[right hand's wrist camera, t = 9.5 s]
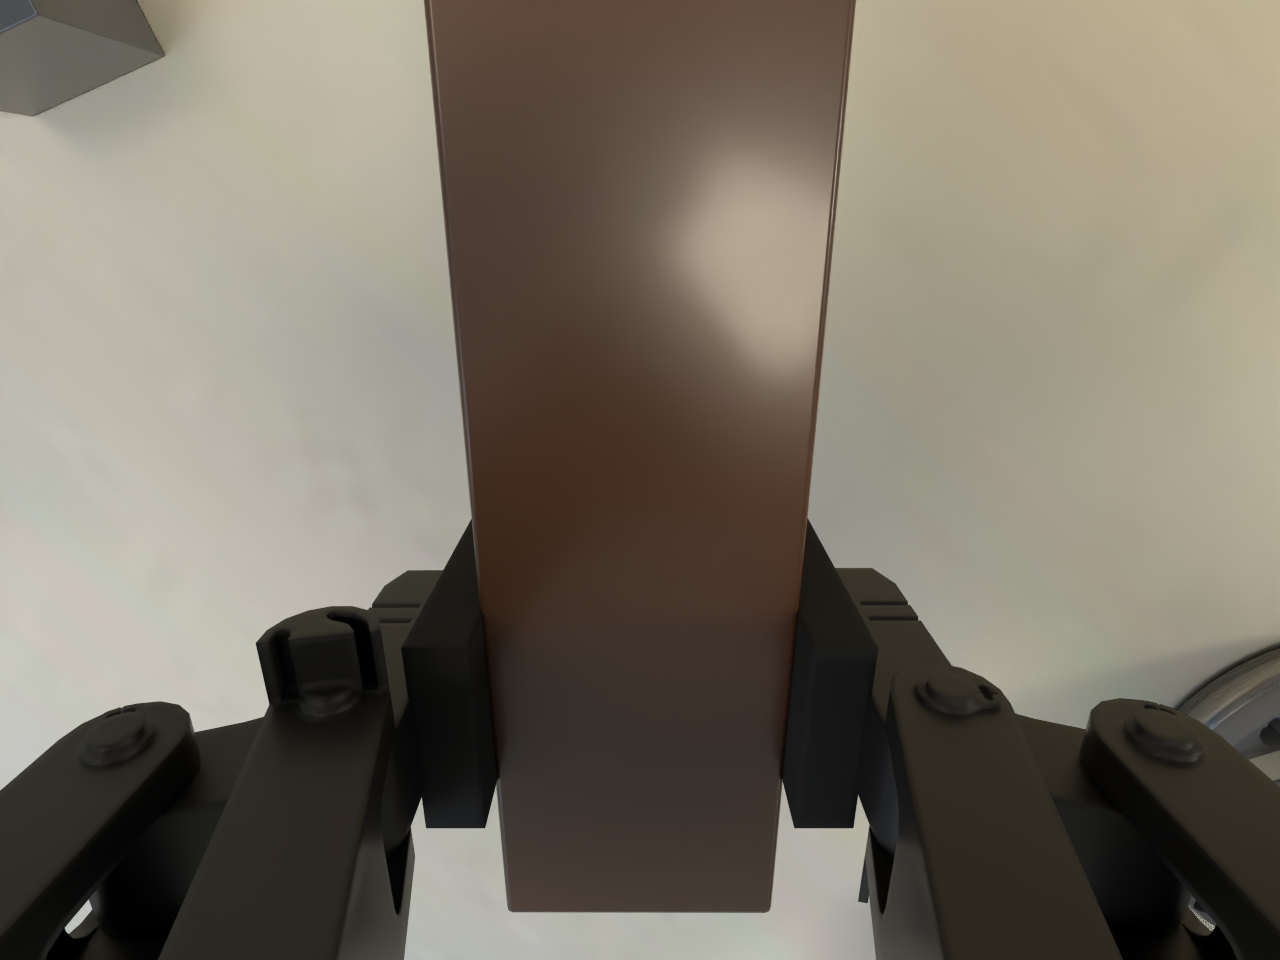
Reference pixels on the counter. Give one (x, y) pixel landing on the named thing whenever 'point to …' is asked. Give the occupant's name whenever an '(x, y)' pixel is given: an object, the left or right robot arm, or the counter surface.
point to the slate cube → (67, 49)
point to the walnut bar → (639, 418)
